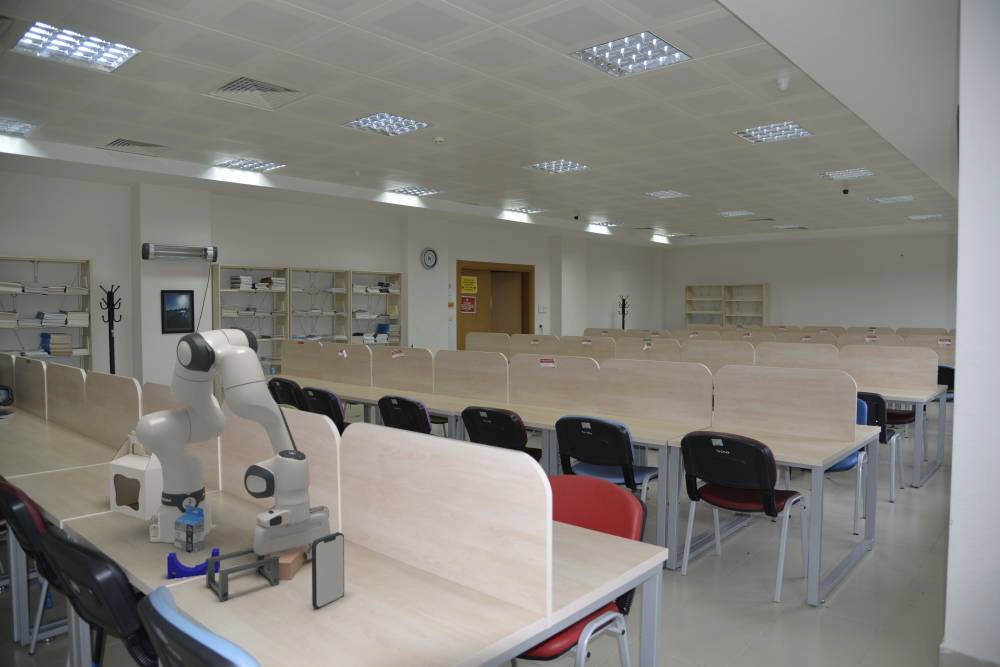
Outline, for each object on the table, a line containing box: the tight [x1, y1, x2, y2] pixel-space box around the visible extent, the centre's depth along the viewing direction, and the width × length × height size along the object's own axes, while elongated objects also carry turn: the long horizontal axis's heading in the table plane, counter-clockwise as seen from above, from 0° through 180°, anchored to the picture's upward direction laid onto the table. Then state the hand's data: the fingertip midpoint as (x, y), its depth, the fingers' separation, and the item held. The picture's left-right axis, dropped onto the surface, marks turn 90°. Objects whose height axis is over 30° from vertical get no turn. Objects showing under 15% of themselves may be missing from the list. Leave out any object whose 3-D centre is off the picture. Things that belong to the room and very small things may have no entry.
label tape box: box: [173, 505, 205, 554], centre depth 186 cm, size 9×4×12 cm, turn 60°
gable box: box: [108, 429, 163, 521], centre depth 220 cm, size 22×13×28 cm, turn 59°
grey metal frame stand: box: [205, 547, 280, 603], centre depth 161 cm, size 12×14×7 cm
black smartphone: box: [311, 531, 345, 609], centre depth 152 cm, size 9×2×16 cm, turn 144°
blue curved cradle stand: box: [166, 547, 221, 580], centre depth 169 cm, size 12×4×6 cm, turn 107°
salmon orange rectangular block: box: [278, 544, 309, 581], centre depth 172 cm, size 16×4×5 cm, turn 179°
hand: (293, 562), depth 172 cm, fingers closed on salmon orange rectangular block, 7 cm apart
